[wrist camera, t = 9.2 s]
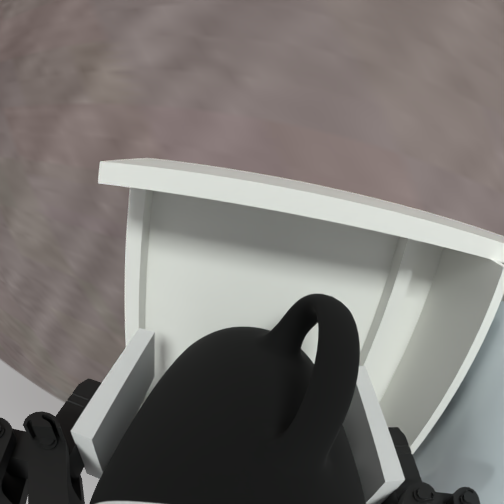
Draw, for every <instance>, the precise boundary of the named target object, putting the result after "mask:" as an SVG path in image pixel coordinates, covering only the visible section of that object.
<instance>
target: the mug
mask: <svg viewBox="0 0 504 504" xmlns="http://www.w3.org/2000/svg"><path fill="white" fill-rule="evenodd" d="M317 323H318V345H317V353H316V358H315V363H313V362H312V361H311V359H310V358H309V357H308V356H307V354H306V353H305V352H304V351H303V350H302V349H301V346H302V343H303V340H304V338H305V336H306V335H307V333H308V332H309V331H310V330H311V329H312V328H313V327H314V326H315V325H316V324H317ZM359 362H360V342H359V334H358V329H357V325H356V323H355V320H354V318H353V315H352V313H351V312H350V310H349V309H348V308H347V307H346V306H345V305H344V304H343V303H342V302H341V301H339V300H337V299H336V298H334V297H332V296H329V295H325V294H310V295H307V296H304V297H302V298H301V299H299V300H298V301H297V302H296V303H295V304H294V305H293V306H292V307H291V308H290V309H289V310H288V311H287V312H286V314H285V315H284V316H283V318H282V319H281V320H280V321H279V323H278V324H277V325H276V326H275V327H274V328H273V329H272V330H271V331H270V330H266V329H262V328H257V327H231V328H225V329H221V330H218V331H215V332H213V333H210V334H208V335H206V336H204V337H202V338H201V339H199V340H197V341H196V342H194V343H193V344H192V345H190V346H189V347H188V348H187V349H186V350H185V351H184V352H183V353H182V354H181V355H180V356H179V357H178V358H177V359H176V360H175V361H174V362H173V364H172V365H171V366H170V367H169V368H168V370H167V371H166V372H165V373H164V375H163V376H162V377H161V379H160V380H159V381H158V383H157V384H156V385H155V387H154V388H153V390H152V391H151V393H150V394H149V396H148V397H147V399H146V400H145V402H144V403H143V405H142V406H141V408H140V409H139V411H138V413H137V414H136V416H135V417H134V419H133V421H132V422H131V424H130V425H129V427H128V429H127V430H126V432H125V434H124V435H123V437H122V439H121V441H120V442H119V444H118V446H117V448H116V449H115V451H114V453H113V455H112V457H111V458H110V460H109V462H108V464H107V466H106V468H105V470H104V472H103V474H102V476H101V478H100V480H99V482H98V484H97V486H96V488H95V491H94V493H93V496H92V498H91V501H90V504H366V501H365V497H364V493H363V489H362V485H361V481H360V477H359V474H358V470H357V467H356V463H355V460H354V457H353V454H352V450H351V447H350V444H349V441H348V438H347V436H346V433H345V430H344V427H343V422H344V420H345V417H346V415H347V412H348V410H349V407H350V404H351V401H352V398H353V395H354V391H355V387H356V382H357V377H358V371H359Z"/></svg>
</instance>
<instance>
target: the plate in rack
mask: <svg viewBox="0 0 504 504" xmlns="http://www.w3.org/2000/svg"><path fill="white" fill-rule="evenodd" d="M413 457H414V460H415V463H416V466H417V468H418V471H419V474H420V477H421V480H422V482H425V483H427V484H429V485H430V486H432V487H433V488H434V490H435V492H440V493H450V494H453V493H454V492H455V491H456V490H458V489H459V488H461V487H470V488H471V489H473V490H474V491H475V492H476V493H477V494H478V497H479V500H480V504H504V301H501V302H500V304H499V307H498V309H497V312H496V314H495V316H494V319H493V321H492V323H491V326H490V328H489V330H488V332H487V334H486V336H485V339H484V341H483V343H482V345H481V347H480V349H479V351H478V353H477V355H476V357H475V359H474V361H473V363H472V364H471V366H470V368H469V370H468V372H467V374H466V375H465V377H464V379H463V381H462V382H461V384H460V386H459V388H458V389H457V391H456V393H455V394H454V396H453V397H452V399H451V401H450V402H449V404H448V405H447V407H446V409H445V410H444V412H443V413H442V415H441V416H440V418H439V419H438V421H437V422H436V424H435V425H434V426H433V428H432V429H431V431H430V432H429V433H428V435H427V436H426V438H425V439H424V440H423V442H422V443H421V444H420V446H419V447H418V448H417V450H416V451H415V452H414V453H413Z"/></svg>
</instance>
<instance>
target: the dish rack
mask: <svg viewBox="0 0 504 504" xmlns="http://www.w3.org/2000/svg"><path fill="white" fill-rule="evenodd" d="M98 183H100V184H108V185H116V186H124V187H130V193H129V204H128V217H127V232H126V253H125V338H126V347H127V345H128V344H129V342H130V341H131V339H132V338H133V336H134V335H135V334H136V332H137V331H138V329H139V328H141V329H145V330H149V331H153V332H155V377H154V379H153V381H152V383H151V385H150V387H149V389H148V391H147V393H146V395H145V397H144V400H143V402H142V404H141V406H142V405H143V403H144V402H145V400H146V399H147V397H148V396H149V394H150V393H151V391H152V390H153V388H154V387H155V385H156V384H157V383H158V381H159V380H160V379H161V377H162V376H163V375H164V373H165V372H166V371H167V370H168V368H169V367H170V366H171V365H172V364H173V362H174V361H175V360H176V359H177V358H178V357H179V356H180V355H181V354H182V353H183V352H184V351H185V350H186V349H187V348H188V347H189V346H190V345H192V344H193V343H194V342H196V341H197V340H199V339H201V338H202V337H204V336H206V335H208V334H210V333H213V332H215V331H218V330H221V329H225V328H231V327H257V328H262V329H266V330H270V331H271V330H272V329H273V328H274V327H275V326H276V325H277V324H278V323H279V321H280V320H281V319H282V318H283V316H284V315H285V314H286V312H287V311H288V310H289V309H290V308H291V307H292V306H293V305H294V304H295V303H296V302H297V301H298V300H299V299H301V298H302V297H304V296H307V295H310V294H325V295H329V296H332V297H334V298H336V299H337V300H339V301H341V302H342V303H343V304H344V305H345V306H346V307H347V308H348V309H349V310H350V312H351V313H352V315H353V318H354V320H355V323H356V325H357V329H358V334H359V342H360V362H359V366H365V367H366V370H367V372H368V375H369V378H370V380H371V383H372V385H373V388H374V391H375V393H376V396H377V399H378V402H379V404H380V407H381V410H382V413H383V415H384V418H385V421H386V424H387V427H398V428H399V429H400V430H401V431H402V432H403V433H404V435H405V436H406V439H407V441H408V444H409V447H410V449H411V452H412V453H411V454H412V455H413V453H414V452H415V451H416V450H417V448H418V447H419V446H420V444H421V443H422V442H423V440H424V439H425V438H426V436H427V435H428V433H429V432H430V431H431V429H432V428H433V426H434V425H435V424H436V422H437V421H438V419H439V418H440V416H441V415H442V413H443V412H444V410H445V409H446V407H447V405H448V404H449V402H450V401H451V399H452V397H453V396H454V394H455V393H456V391H457V389H458V388H459V386H460V384H461V382H462V381H463V379H464V377H465V375H466V374H467V372H468V370H469V368H470V366H471V364H472V363H473V361H474V359H475V357H476V355H477V353H478V351H479V349H480V347H481V345H482V343H483V341H484V339H485V336H486V334H487V332H488V330H489V328H490V326H491V323H492V321H493V319H494V316H495V314H496V312H497V309H498V307H499V304H500V302H501V301H504V236H502V235H499V234H497V233H494V232H491V231H488V230H485V229H482V228H479V227H476V226H472V225H469V224H466V223H463V222H460V221H456V220H453V219H450V218H447V217H443V216H440V215H436V214H433V213H430V212H426V211H422V210H419V209H415V208H412V207H408V206H404V205H401V204H397V203H393V202H389V201H385V200H381V199H377V198H373V197H369V196H365V195H361V194H357V193H352V192H348V191H344V190H339V189H335V188H330V187H326V186H321V185H316V184H311V183H307V182H302V181H297V180H291V179H286V178H281V177H276V176H270V175H265V174H259V173H253V172H247V171H242V170H235V169H229V168H223V167H216V166H209V165H202V164H195V163H188V162H180V161H172V160H164V159H155V158H138V159H123V160H111V161H100V167H99V178H98ZM317 345H318V323H317V324H316V325H315V326H314V327H313V328H312V329H311V330H310V331H309V332H308V333H307V335H306V336H305V338H304V340H303V343H302V346H301V349H302V350H303V351H304V352H305V353H306V354H307V356H308V357H309V358H310V359H311V361H312V362H313V363H315V358H316V353H317ZM141 406H140V408H141ZM140 408H139V409H140ZM138 411H139V410H138ZM137 413H138V412H137Z"/></svg>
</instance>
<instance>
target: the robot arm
mask: <svg viewBox="0 0 504 504" xmlns="http://www.w3.org/2000/svg"><path fill="white" fill-rule="evenodd" d="M154 377H155V332H153V331H149V330H145V329H141V328H139V329H138V331H137V332H136V334H135V335H134V336H133V338H132V339H131V341H130V342H129V344H128V345H127V347H126V348H125V349H124V351H123V352H122V354H121V355H120V357H119V358H118V360H117V361H116V363H115V364H114V365H113V367H112V368H111V370H110V371H109V373H108V374H107V376H106V377H105V379H104V380H103V382H102V383H100V382H97V381H94V380H92V379H87V380H85V381H84V382H82V383H80V384H79V385H78V386H77V387H76V389H75V390H74V392H73V394H72V395H71V396H70V397H69V398H68V401H66V403H65V404H64V406H63V407H62V408H61V410H60V411H59V412H58V414H57V415H56V417H55V416H53V415H51V414H50V413H46V412H35V413H33V414H31V415H29V416H28V417H27V418H26V419H25V421H24V424H23V426H24V428H25V430H26V432H25V431H20V430H16V429H12V427H11V425H10V424H9V423H8V422H7V421H6V420H5V419H3V418H0V504H26V500H27V497H28V502H29V503H28V504H85V502H84V494H83V485H82V478H81V475H80V474H81V472H82V470H83V468H84V467H85V469H86V472H87V474H89V475H92V476H95V477H97V478H101V476H102V474H103V472H104V470H105V468H106V466H107V464H108V462H109V460H110V458H111V457H112V455H113V453H114V451H115V449H116V448H117V446H118V444H119V442H120V441H121V439H122V437H123V435H124V434H125V432H126V430H127V429H128V427H129V425H130V424H131V422H132V421H133V419H134V417H135V416H136V414H137V412H138V410H139V408H140V406H141V404H142V402H143V400H144V397H145V395H146V393H147V391H148V389H149V387H150V385H151V383H152V381H153V379H154ZM343 427H344V430H345V433H346V436H347V438H348V441H349V444H350V447H351V450H352V454H353V457H354V460H355V463H356V467H357V470H358V474H359V477H360V481H361V485H362V489H363V493H364V497H365V501H366V504H480V500H479V497H478V494H477V493H476V492H475V491H474V490H473V489H471V488H470V487H461V488H459V489H458V490H456V491H455V492H454V493H453V494H450V493H440V492H435V490H434V488H433V487H432V486H430V485H429V484H427V483H425V482H422V480H421V477H420V474H419V471H418V468H417V466H416V463H415V460H414V457H413V455H412V454H411V453H412V452H411V449H410V447H409V444H408V441H407V439H406V436H405V435H404V433H403V432H402V431H401V430H400V429H399V428H398V427H387V424H386V421H385V418H384V415H383V413H382V410H381V407H380V404H379V402H378V399H377V396H376V393H375V391H374V388H373V385H372V383H371V380H370V378H369V375H368V372H367V370H366V367H365V366H359V371H358V377H357V382H356V387H355V391H354V395H353V398H352V401H351V404H350V407H349V410H348V412H347V415H346V417H345V420H344V422H343Z"/></svg>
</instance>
